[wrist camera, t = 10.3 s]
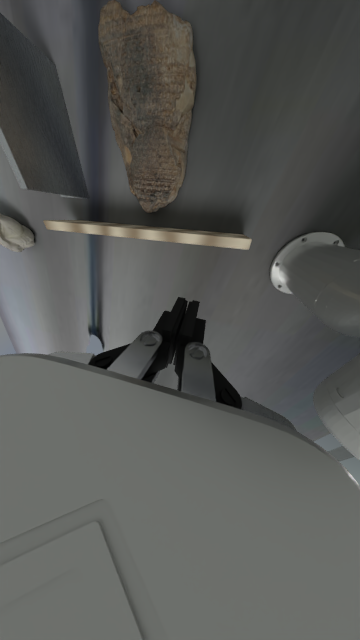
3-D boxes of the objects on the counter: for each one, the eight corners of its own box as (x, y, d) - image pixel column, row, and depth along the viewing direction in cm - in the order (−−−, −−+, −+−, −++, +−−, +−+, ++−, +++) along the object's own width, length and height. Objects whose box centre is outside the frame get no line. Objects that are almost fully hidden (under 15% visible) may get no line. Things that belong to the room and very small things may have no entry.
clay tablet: (185, 217, 30) (206, 24, 18) (179, 218, 26) (201, -29, 14) (126, 208, 32) (107, 26, 19) (113, 207, 28) (79, -20, 15)
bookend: (55, 64, 22) (-89, -72, 12) (89, 198, 31) (27, 188, 21) (18, 68, 23) (-145, -56, 13) (62, 197, 32) (-10, 186, 22)
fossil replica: (48, 249, 42) (27, 207, 37) (16, 252, 35) (-15, 200, 30) (16, 252, 44) (-8, 212, 39) (-20, 255, 37) (-56, 207, 31)
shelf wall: (243, 234, 29) (251, 239, 22) (241, 242, 30) (248, 249, 23) (78, 220, 35) (43, 220, 28) (80, 227, 35) (47, 229, 28)
